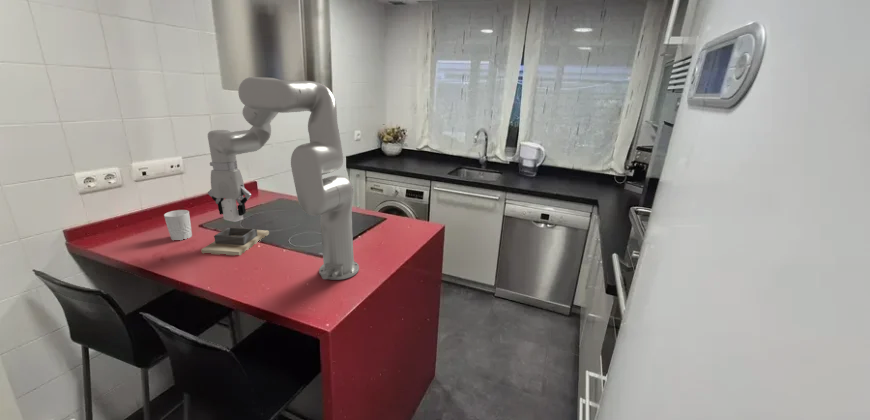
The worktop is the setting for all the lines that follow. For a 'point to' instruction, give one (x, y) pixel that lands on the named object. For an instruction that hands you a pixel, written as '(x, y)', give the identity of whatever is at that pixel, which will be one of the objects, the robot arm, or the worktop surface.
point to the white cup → (178, 224)
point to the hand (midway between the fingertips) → (232, 213)
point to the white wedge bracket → (230, 210)
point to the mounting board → (235, 240)
